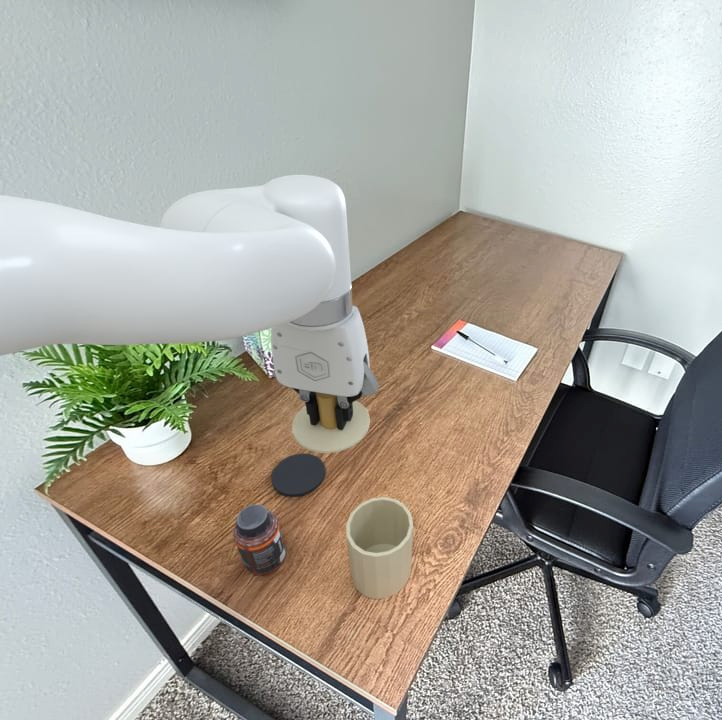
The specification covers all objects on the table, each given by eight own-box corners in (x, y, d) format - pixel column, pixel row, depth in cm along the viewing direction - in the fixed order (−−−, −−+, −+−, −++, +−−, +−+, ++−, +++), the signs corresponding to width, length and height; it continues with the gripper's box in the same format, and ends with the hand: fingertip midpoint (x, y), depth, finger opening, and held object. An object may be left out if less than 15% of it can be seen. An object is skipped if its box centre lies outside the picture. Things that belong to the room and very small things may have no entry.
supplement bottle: (295, 554, 72) (284, 512, 65) (262, 585, 68) (247, 544, 61) (269, 533, 74) (256, 491, 67) (236, 562, 70) (218, 520, 63)
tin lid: (290, 460, 57) (281, 423, 53) (295, 404, 64) (288, 368, 60) (371, 451, 59) (370, 415, 55) (368, 399, 67) (366, 363, 62)
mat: (269, 500, 79) (268, 497, 78) (274, 459, 86) (273, 456, 85) (325, 493, 81) (324, 490, 81) (325, 453, 88) (325, 450, 87)
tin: (352, 604, 67) (347, 561, 60) (350, 547, 74) (345, 501, 66) (414, 592, 70) (416, 549, 62) (407, 538, 76) (408, 493, 69)
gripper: (222, 305, 47) (256, 430, 58) (380, 331, 46) (384, 452, 58) (259, 271, 53) (283, 391, 64) (400, 294, 52) (399, 410, 64)
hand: (331, 419), depth 61 cm, fingers closed on tin lid, 2 cm apart
